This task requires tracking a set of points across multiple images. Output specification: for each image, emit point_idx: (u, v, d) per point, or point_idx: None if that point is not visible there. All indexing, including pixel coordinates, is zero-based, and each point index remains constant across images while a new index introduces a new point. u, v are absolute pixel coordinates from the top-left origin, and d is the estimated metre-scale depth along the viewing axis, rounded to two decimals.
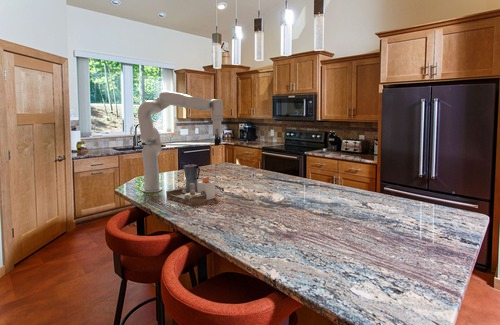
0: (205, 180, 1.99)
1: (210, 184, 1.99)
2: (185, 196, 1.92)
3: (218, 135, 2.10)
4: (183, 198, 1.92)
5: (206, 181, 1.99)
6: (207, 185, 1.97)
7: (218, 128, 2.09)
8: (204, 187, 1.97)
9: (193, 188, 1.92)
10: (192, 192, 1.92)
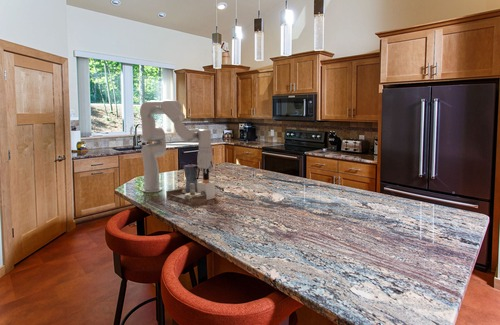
0: (205, 182, 1.99)
1: (210, 184, 1.99)
2: (185, 196, 1.92)
3: None
4: (183, 198, 1.92)
5: None
6: (207, 185, 1.97)
7: (212, 160, 1.96)
8: (204, 187, 1.97)
9: (193, 188, 1.92)
10: (192, 192, 1.92)
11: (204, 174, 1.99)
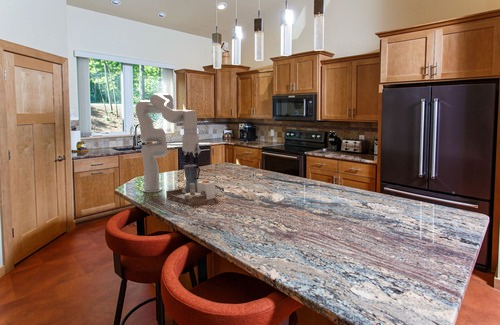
0: None
1: (210, 184, 1.99)
2: (185, 196, 1.92)
3: None
4: (183, 198, 1.92)
5: None
6: (207, 185, 1.97)
7: (197, 143, 1.86)
8: (204, 187, 1.97)
9: (193, 188, 1.92)
10: (192, 192, 1.92)
11: (193, 157, 1.86)
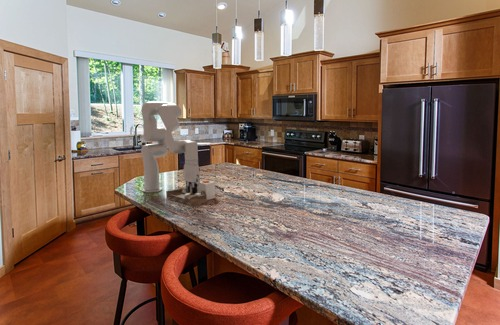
0: None
1: (210, 184, 1.99)
2: (185, 196, 1.92)
3: None
4: (183, 198, 1.92)
5: None
6: (207, 185, 1.97)
7: (198, 173, 1.89)
8: (204, 187, 1.97)
9: None
10: None
11: (192, 188, 1.90)
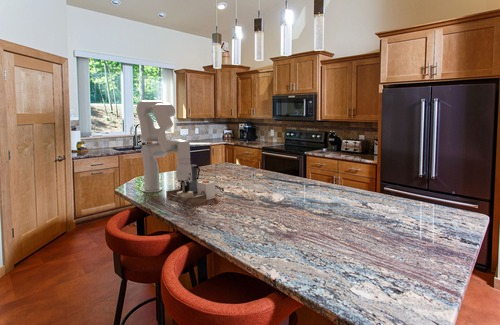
0: None
1: (210, 184, 1.99)
2: (178, 194, 1.97)
3: None
4: (183, 198, 1.92)
5: None
6: (207, 185, 1.97)
7: (191, 172, 1.94)
8: (204, 187, 1.97)
9: None
10: (184, 190, 1.96)
11: (184, 186, 1.95)
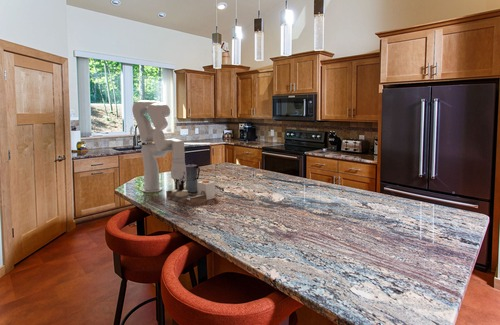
0: None
1: (210, 184, 1.99)
2: (172, 193, 2.00)
3: None
4: (183, 198, 1.92)
5: None
6: (207, 185, 1.97)
7: (185, 171, 1.97)
8: (204, 187, 1.97)
9: None
10: None
11: (179, 185, 1.98)
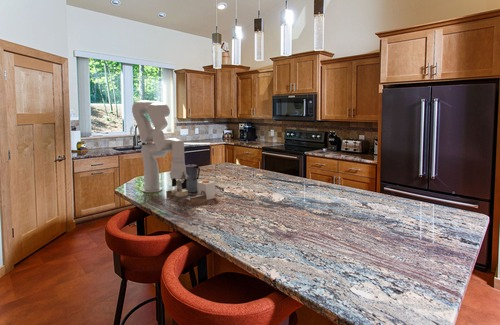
0: None
1: (210, 184, 1.99)
2: (172, 193, 2.00)
3: None
4: (183, 198, 1.92)
5: None
6: (207, 185, 1.97)
7: (185, 170, 1.97)
8: (204, 187, 1.97)
9: (180, 185, 2.00)
10: (179, 189, 2.00)
11: None
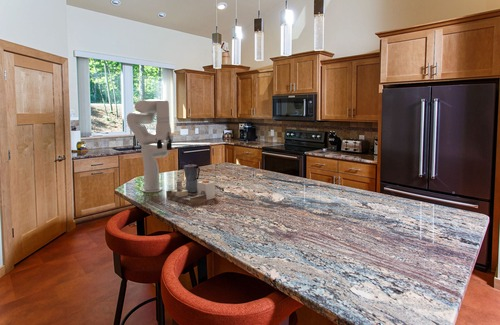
0: None
1: (210, 184, 1.99)
2: (172, 193, 2.00)
3: None
4: (183, 198, 1.92)
5: None
6: (207, 185, 1.97)
7: (170, 131, 1.95)
8: (204, 187, 1.97)
9: (180, 185, 2.00)
10: (179, 189, 2.00)
11: None
